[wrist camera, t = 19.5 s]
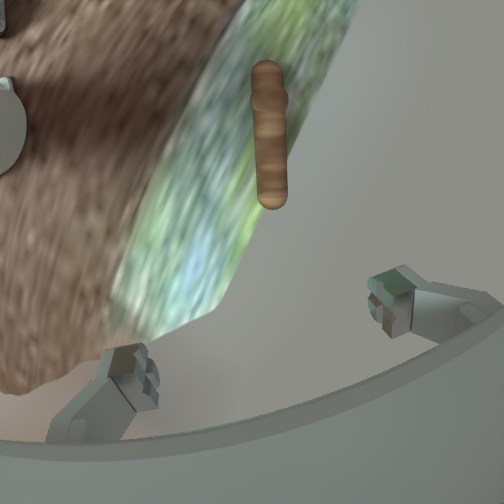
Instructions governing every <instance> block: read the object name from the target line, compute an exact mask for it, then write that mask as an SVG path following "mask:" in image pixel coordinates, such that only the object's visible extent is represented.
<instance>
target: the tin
mask: <svg viewBox="0 0 504 504" xmlns="http://www.w3.org/2000/svg"><path fill="white" fill-rule="evenodd" d="M5 29H6V11H5V0H0V36H1V35H2V34H3V33H4V32H5Z"/></svg>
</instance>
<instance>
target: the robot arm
mask: <svg viewBox="0 0 504 504" xmlns="http://www.w3.org/2000/svg"><path fill="white" fill-rule="evenodd" d="M0 84H1V85H0V175H1V174H2V173H4V172H5V171H7V170H8V169H9V168H10V167H11V166H12V165H13V164H14V163H15V161H16V160H17V158H18V157H19V155H20V153H21V151H22V148H23V145H24V142H25V137H26V129H27V120H26V113H25V109H24V106H23V104H22V102H21V100H20V99H19V98H18V96H17V95H16V94H15V92H14V89H13V84H12V80H11V79H10V78H9V77H3V78H0ZM368 289H369V290H370V291H371V294H370V296H369V297H368V306H369V310H370V313H371V315H372V317H373V318H374V320H375V321H376V322H379V323H382V329H383V330H384V331H385V332H386V333H387V335H388V336H389V337H390V338H391V339H393V338H396V337H398V336H400V335H403V334H405V333H408V332H410V331H411V332H412V333H415V334H417V335H419V336H422V337H424V338H426V339H429V340H431V341H433V342H436V343H438V344H439V345H437V346H436V347H434V348H432V349H430V350H428V351H426V352H424V353H422V354H420V355H418V356H416V357H414V358H412V359H410V360H408V361H406V362H404V363H402V364H400V365H397V366H395V367H393V368H391V369H389V370H386V371H384V372H382V373H380V374H377V375H375V376H373V377H370V378H368V379H366V380H363V381H361V382H358V383H356V384H353V385H350V386H348V387H345V388H343V389H340V390H337V391H335V392H332V393H329V394H326V395H324V396H321V397H318V398H315V399H312V400H309V401H306V402H303V403H300V404H297V405H294V406H290V407H288V408H284V409H281V410H277V411H274V412H270V413H267V414H264V415H259V416H255V417H252V418H248V419H244V420H240V421H236V422H231V423H227V424H222V425H218V426H213V427H208V428H203V429H198V430H193V431H187V432H182V433H175V434H169V435H162V436H154V437H147V438H138V439H129V440H120V439H121V437H122V436H123V434H124V433H125V431H126V430H127V428H128V426H129V425H130V423H131V422H132V420H133V419H134V417H135V415H136V412H142V411H147V410H153V409H158V400H159V394H158V392H157V391H156V389H157V388H158V386H159V383H160V378H159V373H158V369H157V367H156V364H155V363H154V361H153V360H152V359H150V358H148V350H147V348H146V346H145V345H144V344H143V343H136V344H131V345H126V346H121V347H117V348H111V349H106V350H104V351H103V353H102V356H101V359H100V362H99V366H98V369H97V372H96V375H95V379H94V380H92V381H90V382H89V383H88V384H87V385H86V386H85V387H84V388H83V389H82V390H81V391H80V392H79V393H78V394H77V395H76V396H75V397H74V398H73V399H72V400H71V401H70V402H69V403H68V404H67V405H66V406H65V407H64V408H63V409H62V410H61V411H60V412H59V413H58V414H57V415H56V416H55V417H54V418H53V419H52V420H51V423H50V427H49V430H48V433H47V437H46V440H45V443H42V442H21V441H7V440H0V504H504V305H503V304H501V303H500V302H499V301H497V300H496V299H495V298H493V297H492V296H491V295H489V294H488V293H487V292H484V291H479V290H474V289H468V288H463V287H458V286H453V285H447V284H443V283H438V282H430V283H429V282H428V281H426V280H425V279H424V278H422V277H421V276H420V275H418V274H417V273H416V272H414V271H413V270H412V269H410V268H409V267H408V266H406V265H400V266H398V267H395V268H393V269H391V270H388V271H386V272H383V273H380V274H378V275H375V276H372V277H370V278H369V279H368Z"/></svg>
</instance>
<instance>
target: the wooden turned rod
mask: <svg viewBox="0 0 504 504" xmlns="http://www.w3.org/2000/svg"><path fill="white" fill-rule="evenodd" d="M251 84H252V94H251V98H250V101H251V106H252V108H253V120H254V139H255V158H256V178H257V196H258V200H259V202H260V204H261V205H262V206H263V207H264V208H266V209H270V210H275V209H279V208H281V207H282V206H283V205H284V204H285V203H286V201H287V197H288V186H287V153H286V127H285V110H286V108H287V105H288V95H287V93H286V91H285V89H284V87H283V73H282V70H281V68H280V66H279V65H278V64H277V63H275V62H273V61H269V60H264V61H260V62H258V63H257V64H256V65H255V66H254V67H253V69H252V71H251Z"/></svg>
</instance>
